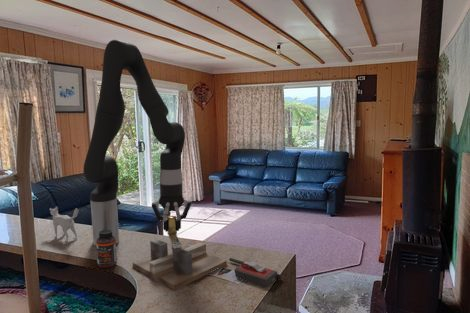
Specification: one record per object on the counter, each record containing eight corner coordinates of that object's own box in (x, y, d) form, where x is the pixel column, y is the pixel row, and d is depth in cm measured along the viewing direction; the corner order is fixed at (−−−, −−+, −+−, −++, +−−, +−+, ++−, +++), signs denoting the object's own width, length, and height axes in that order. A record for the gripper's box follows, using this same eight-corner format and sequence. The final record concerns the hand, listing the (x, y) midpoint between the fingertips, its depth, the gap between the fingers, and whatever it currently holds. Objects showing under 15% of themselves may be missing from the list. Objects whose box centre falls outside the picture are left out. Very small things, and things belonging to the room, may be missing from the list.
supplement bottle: (96, 269, 110) (94, 235, 108) (98, 261, 115) (96, 229, 114) (116, 267, 111) (114, 233, 110) (117, 259, 117) (115, 227, 115)
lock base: (132, 266, 111) (131, 244, 110) (183, 247, 127) (182, 227, 126) (175, 290, 97) (174, 264, 95) (226, 264, 112) (226, 242, 111)
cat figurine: (59, 232, 144) (56, 199, 143) (85, 242, 133) (83, 206, 131) (48, 235, 141) (45, 201, 139) (74, 245, 129) (71, 209, 127)
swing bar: (182, 249, 109) (181, 227, 108) (172, 250, 108) (171, 228, 107) (176, 235, 121) (175, 215, 120) (167, 236, 120) (166, 216, 119)
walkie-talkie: (285, 278, 103) (231, 261, 115) (285, 264, 103) (231, 249, 115) (270, 290, 96) (214, 271, 108) (270, 275, 96) (214, 258, 107)
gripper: (191, 178, 122) (191, 225, 124) (150, 180, 119) (151, 228, 121) (193, 183, 114) (193, 232, 117) (149, 184, 112) (150, 235, 114)
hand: (172, 230), depth 119 cm, fingers closed on swing bar, 3 cm apart
